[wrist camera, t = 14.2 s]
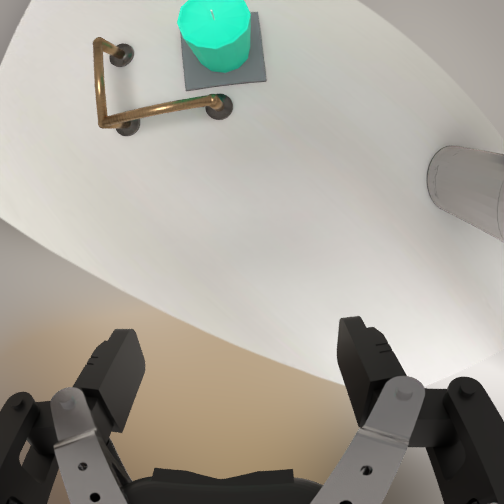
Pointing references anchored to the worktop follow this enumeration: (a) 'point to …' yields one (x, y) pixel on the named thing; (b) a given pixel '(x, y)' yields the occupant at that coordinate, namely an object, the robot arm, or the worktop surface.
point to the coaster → (246, 73)
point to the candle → (217, 32)
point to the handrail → (130, 120)
